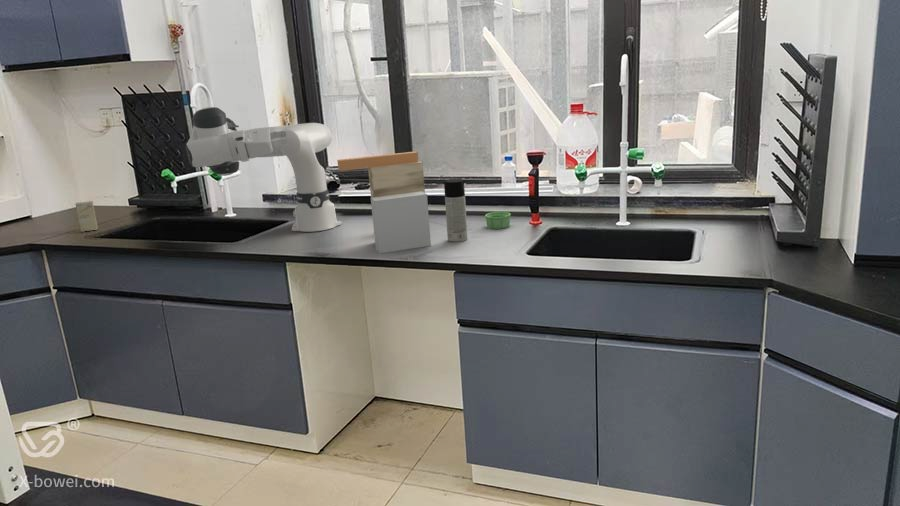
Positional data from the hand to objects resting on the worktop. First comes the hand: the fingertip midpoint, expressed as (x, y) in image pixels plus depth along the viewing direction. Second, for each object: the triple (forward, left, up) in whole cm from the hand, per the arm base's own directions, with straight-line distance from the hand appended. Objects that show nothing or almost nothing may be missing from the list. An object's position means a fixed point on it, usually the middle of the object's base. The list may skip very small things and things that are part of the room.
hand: (286, 136), depth 203 cm
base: (+11, +31, -38) cm, 50 cm away
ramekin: (+2, +69, -38) cm, 79 cm away
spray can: (+12, +50, -38) cm, 64 cm away
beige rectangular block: (+2, +33, -38) cm, 51 cm away
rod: (+2, +28, -12) cm, 30 cm away
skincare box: (-90, -77, -38) cm, 124 cm away
